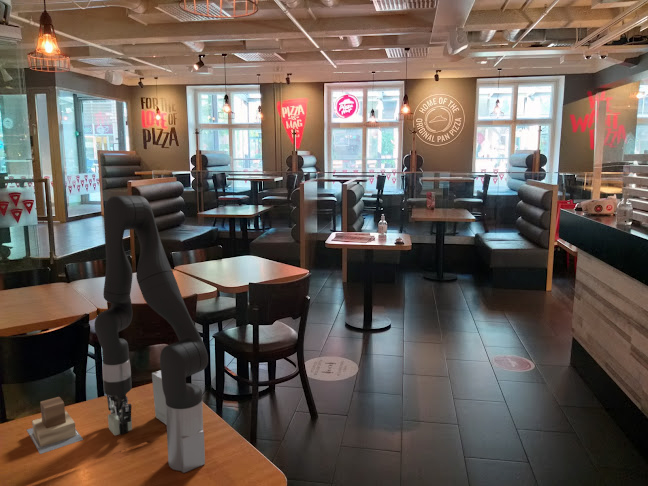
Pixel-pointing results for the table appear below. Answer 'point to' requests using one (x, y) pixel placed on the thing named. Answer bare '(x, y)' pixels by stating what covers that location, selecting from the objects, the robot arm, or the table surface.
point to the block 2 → (116, 424)
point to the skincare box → (159, 397)
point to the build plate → (54, 445)
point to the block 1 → (53, 412)
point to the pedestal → (53, 431)
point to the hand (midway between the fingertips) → (120, 429)
